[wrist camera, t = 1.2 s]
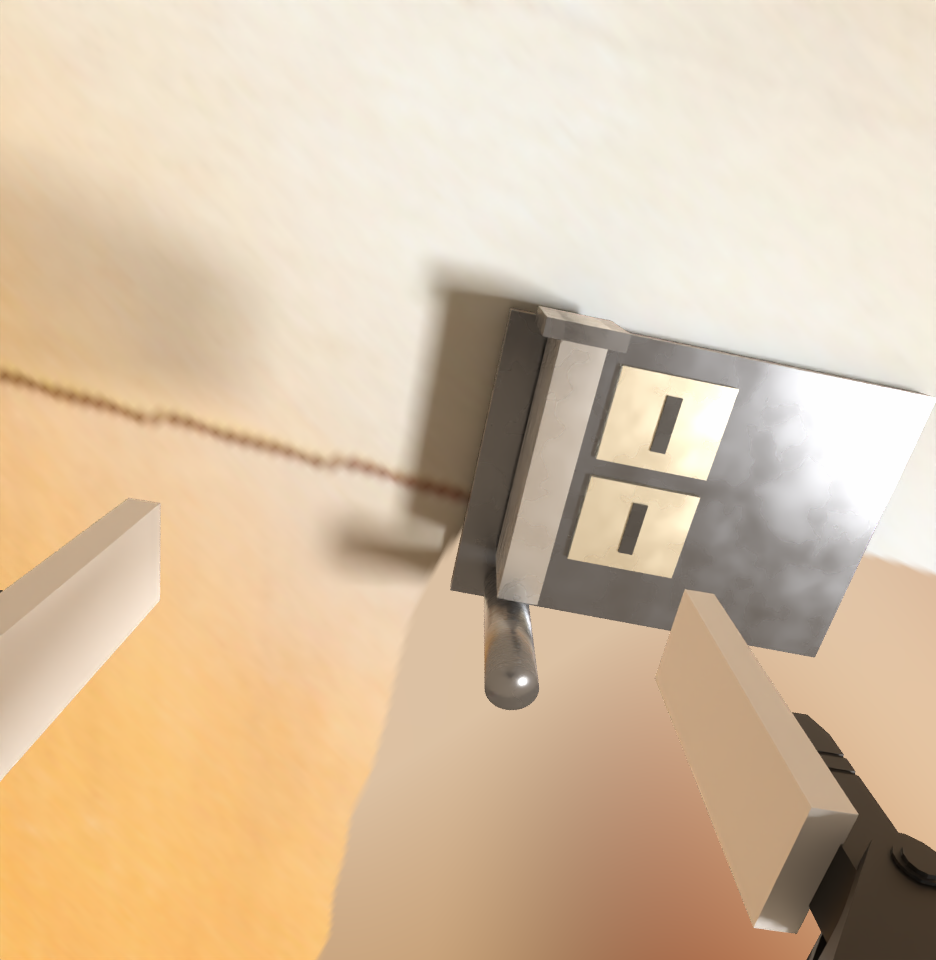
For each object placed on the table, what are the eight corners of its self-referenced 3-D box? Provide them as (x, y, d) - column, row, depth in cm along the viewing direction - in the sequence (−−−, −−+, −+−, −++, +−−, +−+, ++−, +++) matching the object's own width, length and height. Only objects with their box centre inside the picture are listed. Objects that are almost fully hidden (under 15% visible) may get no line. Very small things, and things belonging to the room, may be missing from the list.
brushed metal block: (544, 564, 36) (553, 608, 32) (481, 552, 36) (481, 595, 31) (611, 320, 31) (631, 334, 27) (538, 305, 31) (547, 316, 27)
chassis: (510, 307, 32) (521, 337, 23) (924, 393, 33) (1095, 455, 24) (450, 584, 38) (440, 698, 29) (805, 649, 39) (906, 779, 30)
